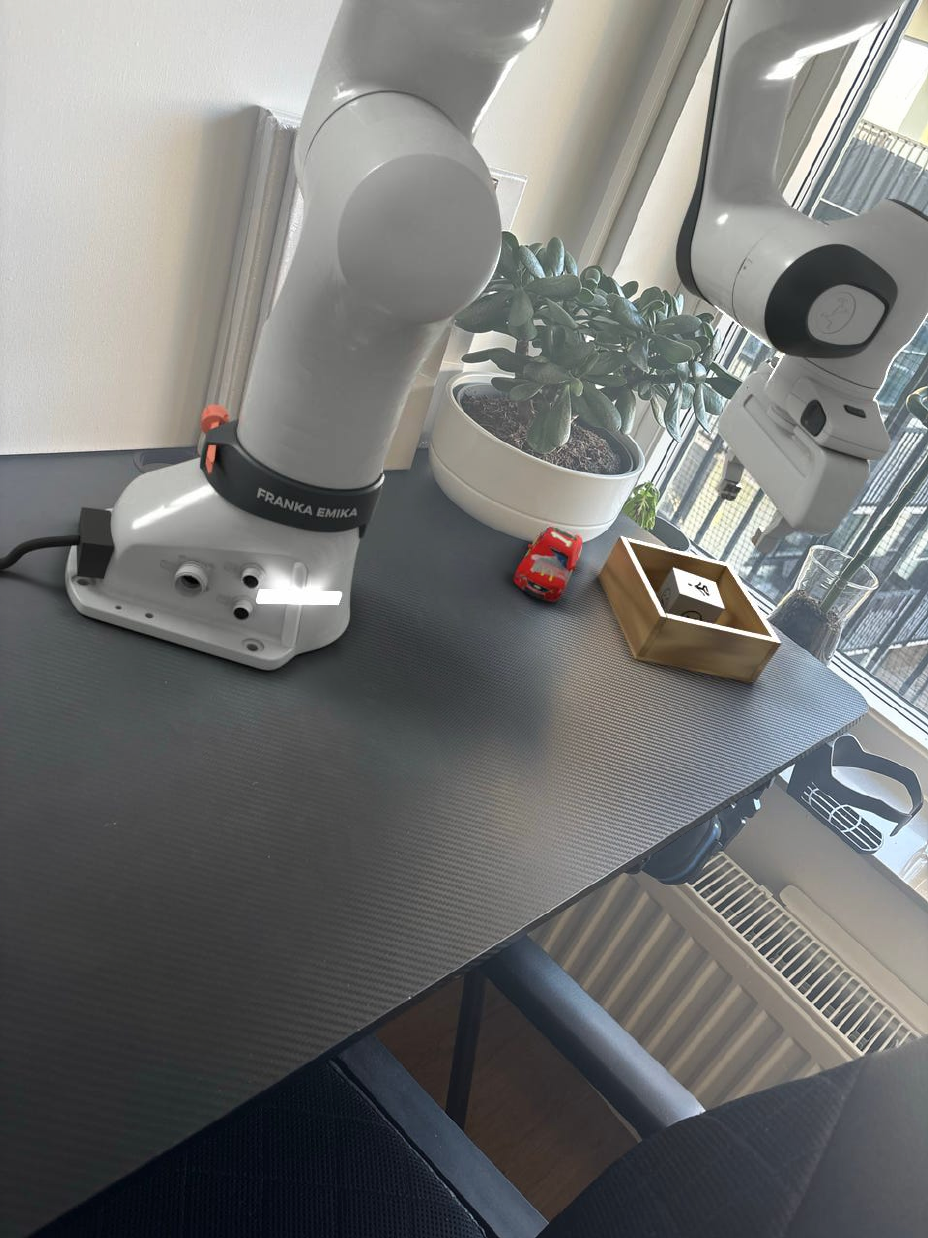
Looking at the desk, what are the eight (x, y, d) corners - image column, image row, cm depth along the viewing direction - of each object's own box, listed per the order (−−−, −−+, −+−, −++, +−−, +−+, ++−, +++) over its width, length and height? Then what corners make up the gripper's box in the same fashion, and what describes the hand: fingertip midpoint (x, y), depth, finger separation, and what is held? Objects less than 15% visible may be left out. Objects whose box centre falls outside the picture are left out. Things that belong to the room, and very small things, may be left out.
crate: (634, 659, 92) (660, 616, 89) (597, 576, 103) (619, 535, 100) (754, 683, 96) (782, 643, 94) (706, 601, 107) (730, 563, 104)
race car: (552, 614, 93) (569, 582, 91) (503, 589, 94) (519, 556, 91) (581, 560, 104) (596, 531, 102) (537, 538, 105) (551, 508, 103)
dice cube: (700, 646, 98) (724, 608, 95) (656, 631, 97) (679, 593, 94) (692, 619, 102) (715, 582, 99) (650, 604, 101) (672, 567, 98)
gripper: (744, 339, 92) (678, 462, 99) (840, 437, 76) (753, 574, 84) (797, 357, 94) (729, 476, 101) (901, 456, 78) (811, 588, 86)
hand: (741, 521), depth 92 cm, fingers open, 8 cm apart
